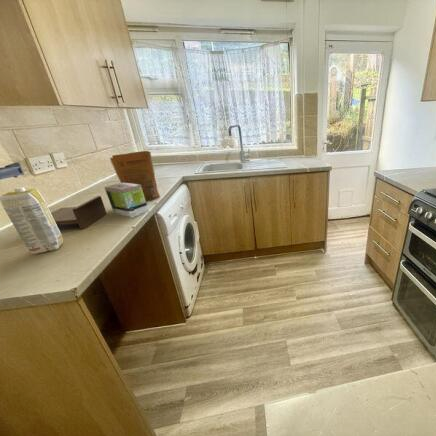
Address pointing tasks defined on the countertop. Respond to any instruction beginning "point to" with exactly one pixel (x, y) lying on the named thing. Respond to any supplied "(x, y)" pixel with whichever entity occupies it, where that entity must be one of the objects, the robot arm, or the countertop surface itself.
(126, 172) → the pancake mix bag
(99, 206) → the shelf
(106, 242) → the countertop surface
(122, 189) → the tea box
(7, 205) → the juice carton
